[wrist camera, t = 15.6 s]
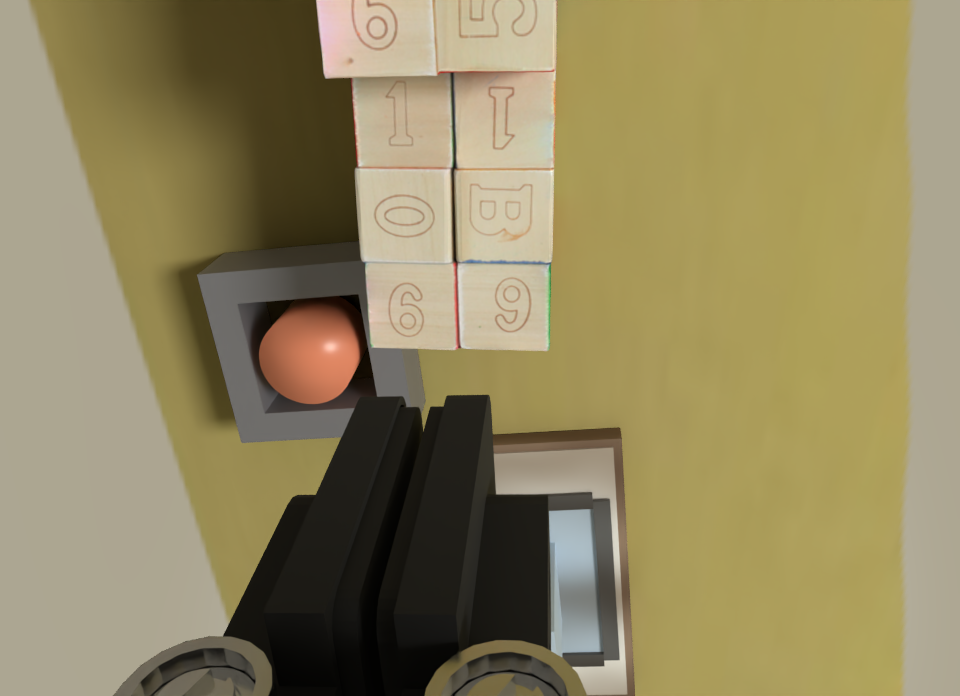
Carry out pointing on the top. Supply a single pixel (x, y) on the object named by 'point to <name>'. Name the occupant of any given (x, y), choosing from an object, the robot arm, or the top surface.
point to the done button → (313, 349)
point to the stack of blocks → (451, 165)
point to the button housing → (245, 320)
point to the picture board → (581, 543)
